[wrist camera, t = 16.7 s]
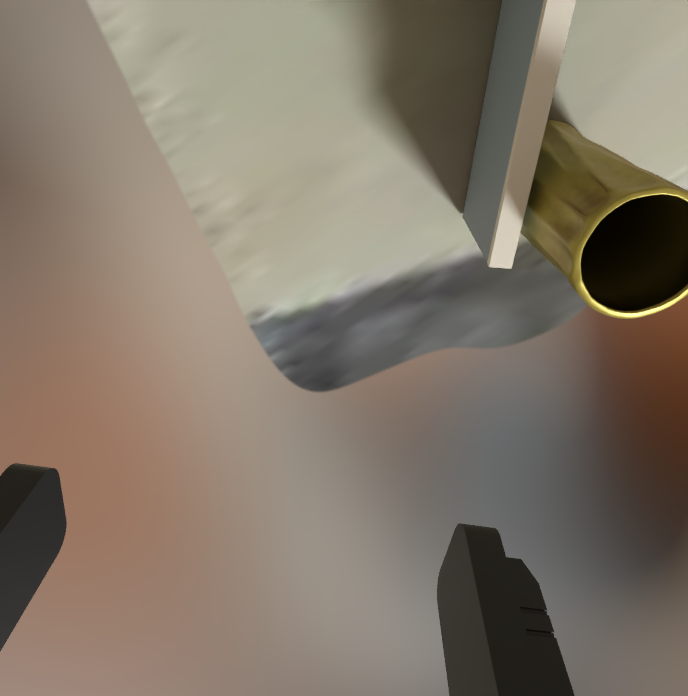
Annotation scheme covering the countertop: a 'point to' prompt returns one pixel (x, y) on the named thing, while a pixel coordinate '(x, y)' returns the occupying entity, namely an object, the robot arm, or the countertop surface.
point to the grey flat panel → (514, 121)
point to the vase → (608, 225)
